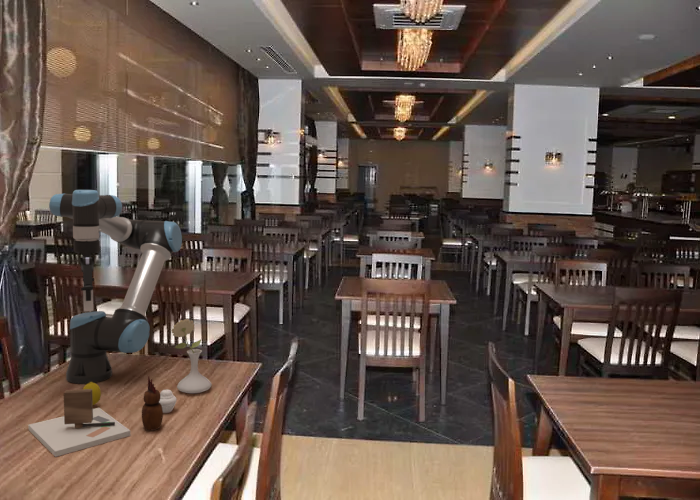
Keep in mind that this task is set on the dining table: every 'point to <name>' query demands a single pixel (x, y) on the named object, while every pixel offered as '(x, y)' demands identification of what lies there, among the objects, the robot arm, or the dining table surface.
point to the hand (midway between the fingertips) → (88, 306)
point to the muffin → (167, 401)
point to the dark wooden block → (80, 408)
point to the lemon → (94, 391)
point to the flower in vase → (194, 379)
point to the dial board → (77, 433)
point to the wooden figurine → (152, 408)
